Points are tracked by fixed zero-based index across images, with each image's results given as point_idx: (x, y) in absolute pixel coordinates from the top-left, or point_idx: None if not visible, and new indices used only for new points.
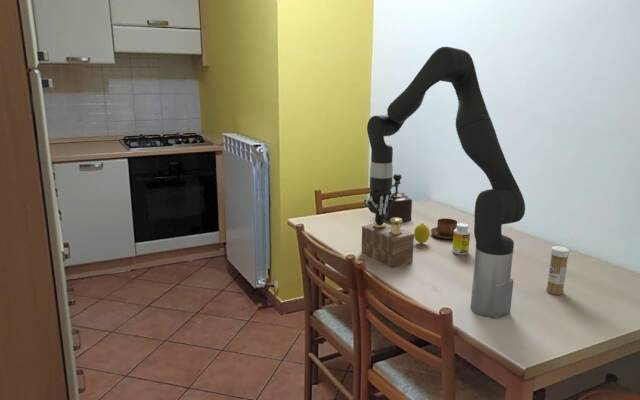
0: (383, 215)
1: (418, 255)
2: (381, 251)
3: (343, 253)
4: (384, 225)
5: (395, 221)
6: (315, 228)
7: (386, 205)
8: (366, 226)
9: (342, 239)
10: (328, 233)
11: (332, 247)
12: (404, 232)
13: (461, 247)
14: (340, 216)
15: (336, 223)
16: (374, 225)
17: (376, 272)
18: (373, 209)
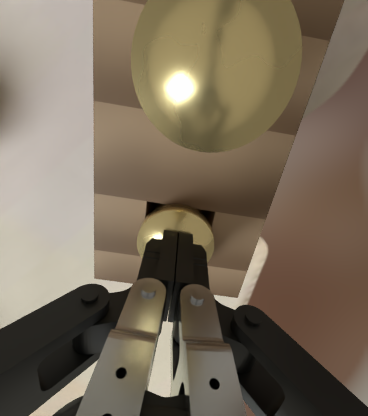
0: (158, 272)
1: (54, 37)
2: None
3: (260, 255)
4: (171, 211)
5: (293, 15)
6: (157, 394)
7: (117, 351)
8: (223, 283)
9: (165, 321)
10: (159, 362)
11: (239, 302)
12: (137, 21)
13: None
14: (41, 407)
15: (86, 388)
16: (210, 255)
17: (362, 44)
18: (311, 362)
